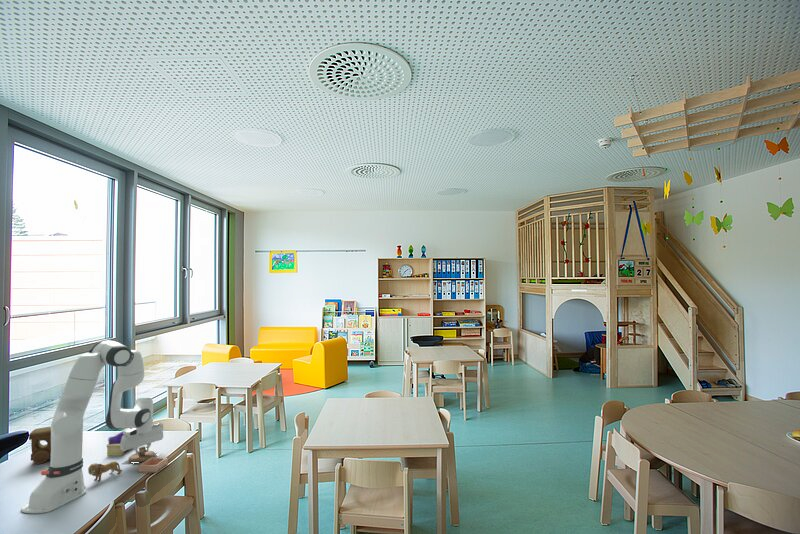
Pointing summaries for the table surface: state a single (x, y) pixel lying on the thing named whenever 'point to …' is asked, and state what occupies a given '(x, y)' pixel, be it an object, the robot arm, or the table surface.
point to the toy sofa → (115, 445)
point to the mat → (137, 463)
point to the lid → (141, 455)
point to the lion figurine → (103, 469)
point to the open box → (152, 465)
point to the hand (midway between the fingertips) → (141, 453)
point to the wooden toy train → (40, 445)
